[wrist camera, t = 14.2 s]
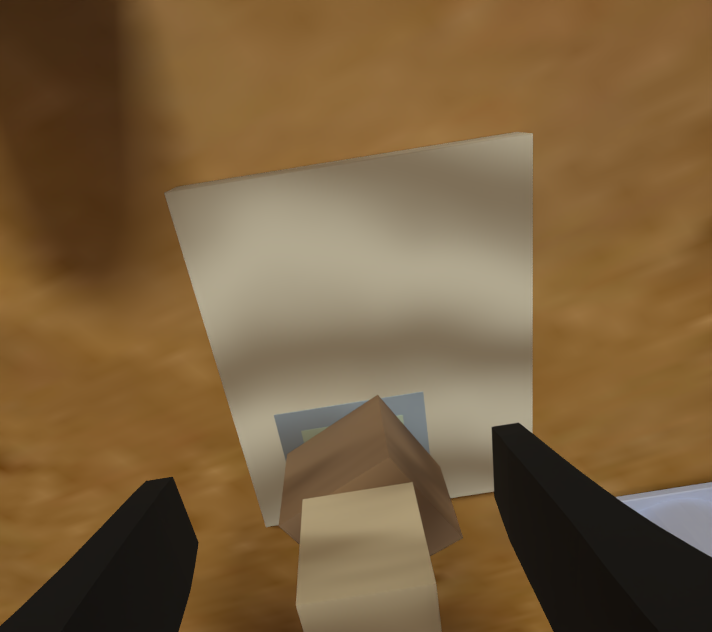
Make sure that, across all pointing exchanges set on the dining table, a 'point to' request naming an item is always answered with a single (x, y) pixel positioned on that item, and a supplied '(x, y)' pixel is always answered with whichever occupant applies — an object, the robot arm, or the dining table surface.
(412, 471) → the walnut block
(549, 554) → the robot arm
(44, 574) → the dining table surface
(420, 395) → the base board
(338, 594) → the oak cube
